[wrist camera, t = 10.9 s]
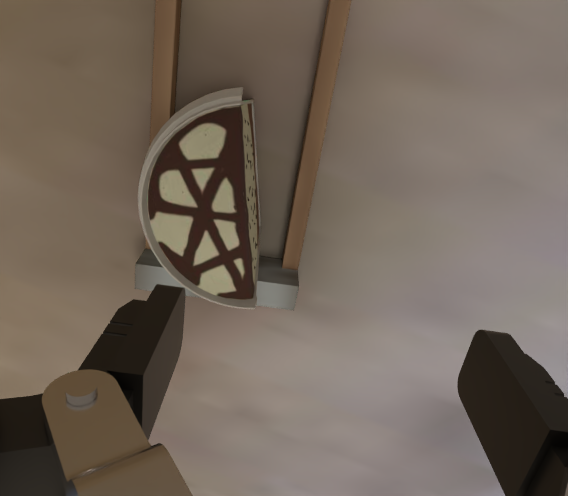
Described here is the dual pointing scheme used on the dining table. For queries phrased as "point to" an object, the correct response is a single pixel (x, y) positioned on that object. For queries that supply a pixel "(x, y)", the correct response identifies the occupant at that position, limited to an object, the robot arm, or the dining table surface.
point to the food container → (206, 198)
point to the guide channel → (284, 272)
